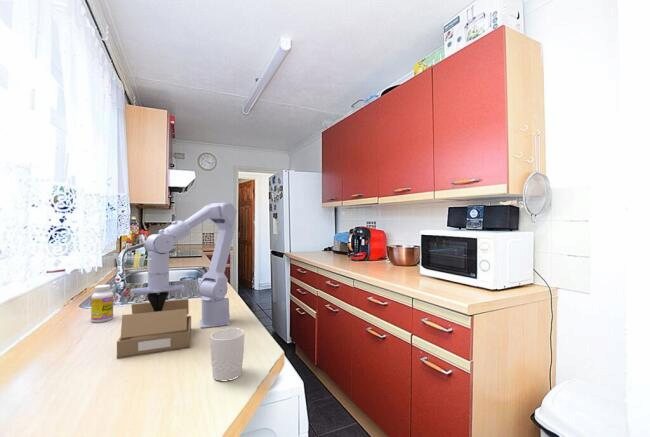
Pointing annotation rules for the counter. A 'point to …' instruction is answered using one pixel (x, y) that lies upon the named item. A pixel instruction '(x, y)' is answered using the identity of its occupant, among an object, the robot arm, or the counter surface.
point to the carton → (154, 342)
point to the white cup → (227, 353)
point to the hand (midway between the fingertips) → (158, 317)
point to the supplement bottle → (102, 304)
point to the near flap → (153, 322)
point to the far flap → (167, 306)
